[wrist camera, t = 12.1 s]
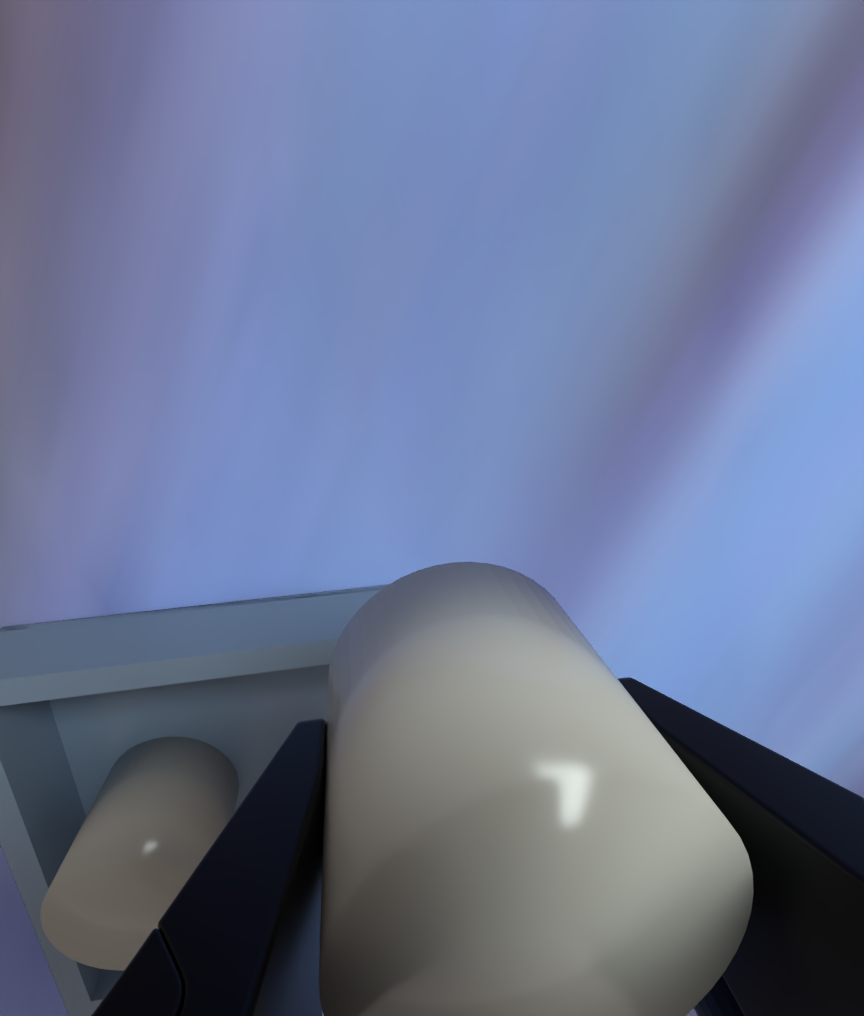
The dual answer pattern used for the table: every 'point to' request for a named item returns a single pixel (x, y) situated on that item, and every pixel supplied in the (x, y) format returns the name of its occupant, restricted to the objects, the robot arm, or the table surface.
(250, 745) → the dish
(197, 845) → the pebble
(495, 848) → the pebble
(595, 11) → the table surface
